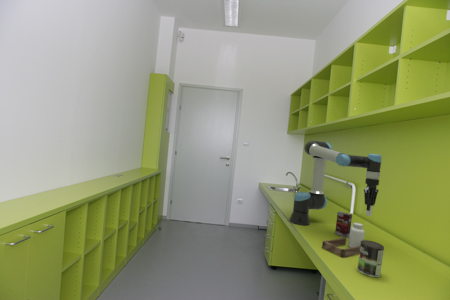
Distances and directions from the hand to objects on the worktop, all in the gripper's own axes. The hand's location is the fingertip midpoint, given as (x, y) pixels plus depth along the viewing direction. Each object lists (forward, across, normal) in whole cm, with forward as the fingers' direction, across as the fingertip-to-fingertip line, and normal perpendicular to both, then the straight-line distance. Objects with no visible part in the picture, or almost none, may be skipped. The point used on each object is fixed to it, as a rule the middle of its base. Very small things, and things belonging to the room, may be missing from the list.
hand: (368, 215), depth 170 cm
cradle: (+20, -22, 0) cm, 30 cm away
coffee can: (+20, -35, -22) cm, 46 cm away
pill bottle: (+20, -10, 0) cm, 22 cm away
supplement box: (+20, +3, +18) cm, 27 cm away
